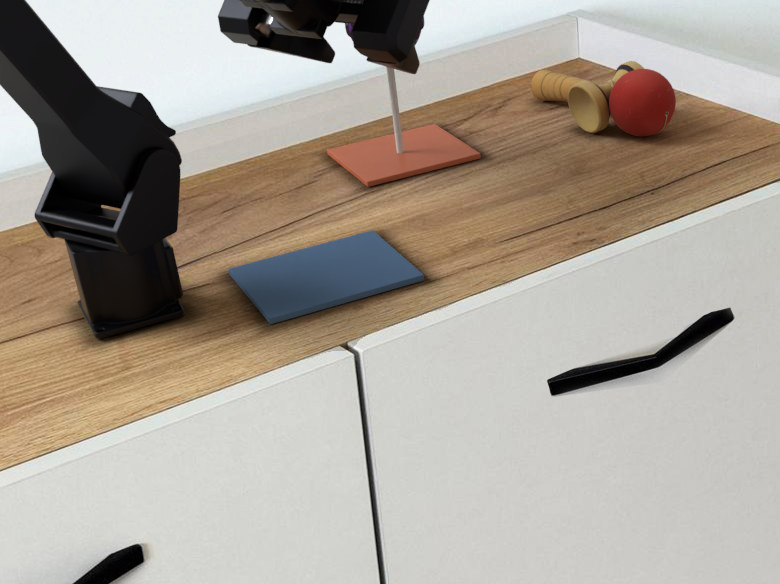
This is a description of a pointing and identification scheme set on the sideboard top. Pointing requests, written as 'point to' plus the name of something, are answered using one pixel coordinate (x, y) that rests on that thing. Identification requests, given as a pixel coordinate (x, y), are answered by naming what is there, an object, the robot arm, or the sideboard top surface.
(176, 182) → the robot arm
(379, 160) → the terracotta pad
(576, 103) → the kendama
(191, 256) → the sideboard top surface
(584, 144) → the sideboard top surface
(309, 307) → the slate pad
